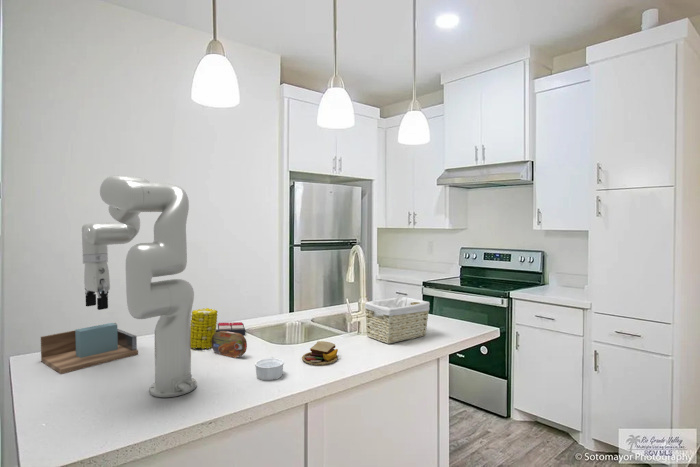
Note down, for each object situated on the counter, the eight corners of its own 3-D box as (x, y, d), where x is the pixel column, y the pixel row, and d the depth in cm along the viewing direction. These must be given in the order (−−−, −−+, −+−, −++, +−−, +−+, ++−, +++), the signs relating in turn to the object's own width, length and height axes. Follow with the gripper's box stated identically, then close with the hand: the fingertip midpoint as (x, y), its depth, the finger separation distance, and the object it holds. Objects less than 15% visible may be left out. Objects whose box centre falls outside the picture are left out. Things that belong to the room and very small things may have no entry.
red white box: (245, 327, 175) (207, 328, 170) (244, 338, 175) (206, 339, 170) (243, 321, 185) (207, 322, 180) (242, 331, 185) (206, 332, 180)
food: (184, 351, 159) (209, 346, 166) (200, 351, 151) (225, 345, 159) (181, 310, 161) (205, 308, 168) (197, 308, 153) (221, 305, 161)
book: (117, 349, 151) (117, 324, 151) (80, 357, 142) (79, 331, 141) (112, 347, 154) (112, 322, 153) (75, 355, 144) (75, 329, 144)
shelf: (138, 354, 150) (137, 330, 150) (60, 374, 131) (60, 347, 131) (115, 344, 161) (115, 322, 161) (41, 361, 142) (40, 336, 142)
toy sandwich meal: (294, 362, 144) (294, 348, 144) (318, 351, 156) (318, 338, 155) (323, 369, 138) (323, 355, 137) (346, 357, 149) (346, 344, 149)
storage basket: (403, 327, 189) (404, 295, 188) (431, 336, 176) (431, 301, 175) (362, 337, 174) (362, 301, 173) (388, 346, 161) (389, 308, 161)
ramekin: (253, 372, 134) (253, 359, 134) (280, 369, 137) (280, 356, 137) (257, 383, 126) (257, 369, 125) (286, 379, 129) (286, 365, 129)
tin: (210, 353, 152) (210, 330, 152) (217, 350, 155) (217, 328, 155) (242, 360, 145) (242, 336, 145) (248, 357, 148) (248, 333, 148)
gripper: (117, 259, 144) (119, 308, 145) (96, 256, 155) (98, 302, 155) (93, 261, 138) (95, 312, 139) (73, 258, 149) (75, 306, 149)
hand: (96, 307), depth 147 cm, fingers open, 9 cm apart
